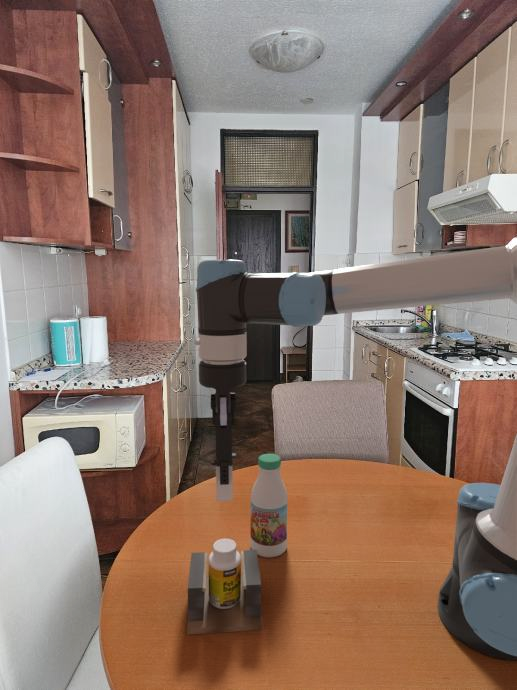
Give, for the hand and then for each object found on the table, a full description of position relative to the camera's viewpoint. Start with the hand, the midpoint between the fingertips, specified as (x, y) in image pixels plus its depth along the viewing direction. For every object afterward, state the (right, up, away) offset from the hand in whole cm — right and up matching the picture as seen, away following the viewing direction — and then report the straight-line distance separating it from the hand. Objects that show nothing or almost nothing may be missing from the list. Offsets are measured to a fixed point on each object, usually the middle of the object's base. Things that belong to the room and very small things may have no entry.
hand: (224, 498), depth 72 cm
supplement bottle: (0, -19, +3) cm, 19 cm away
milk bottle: (+8, -17, +19) cm, 27 cm away
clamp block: (0, -20, +3) cm, 20 cm away
